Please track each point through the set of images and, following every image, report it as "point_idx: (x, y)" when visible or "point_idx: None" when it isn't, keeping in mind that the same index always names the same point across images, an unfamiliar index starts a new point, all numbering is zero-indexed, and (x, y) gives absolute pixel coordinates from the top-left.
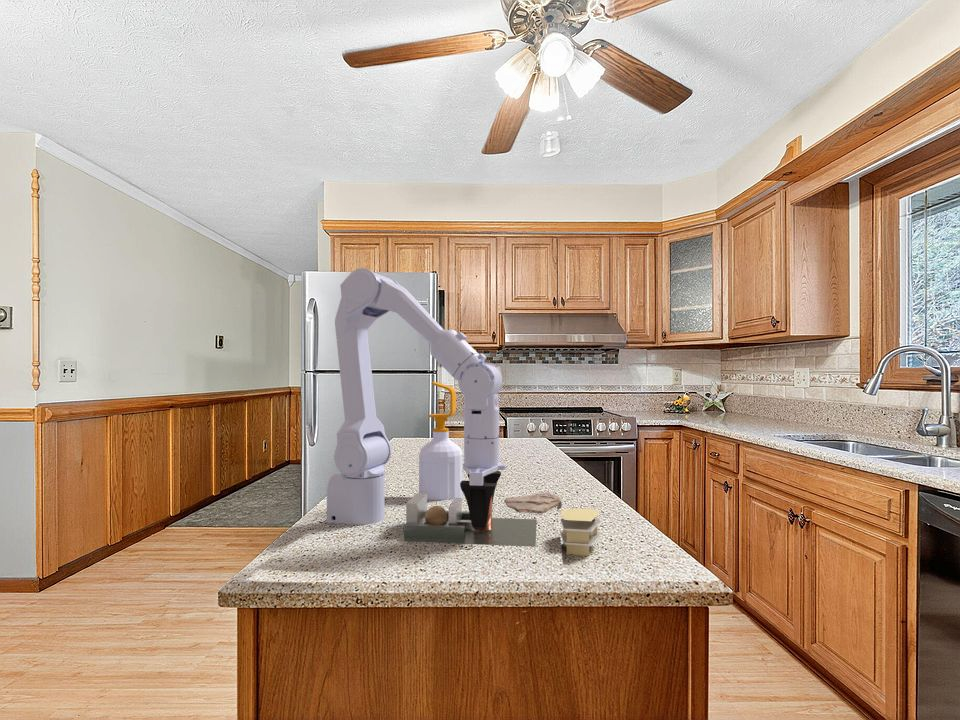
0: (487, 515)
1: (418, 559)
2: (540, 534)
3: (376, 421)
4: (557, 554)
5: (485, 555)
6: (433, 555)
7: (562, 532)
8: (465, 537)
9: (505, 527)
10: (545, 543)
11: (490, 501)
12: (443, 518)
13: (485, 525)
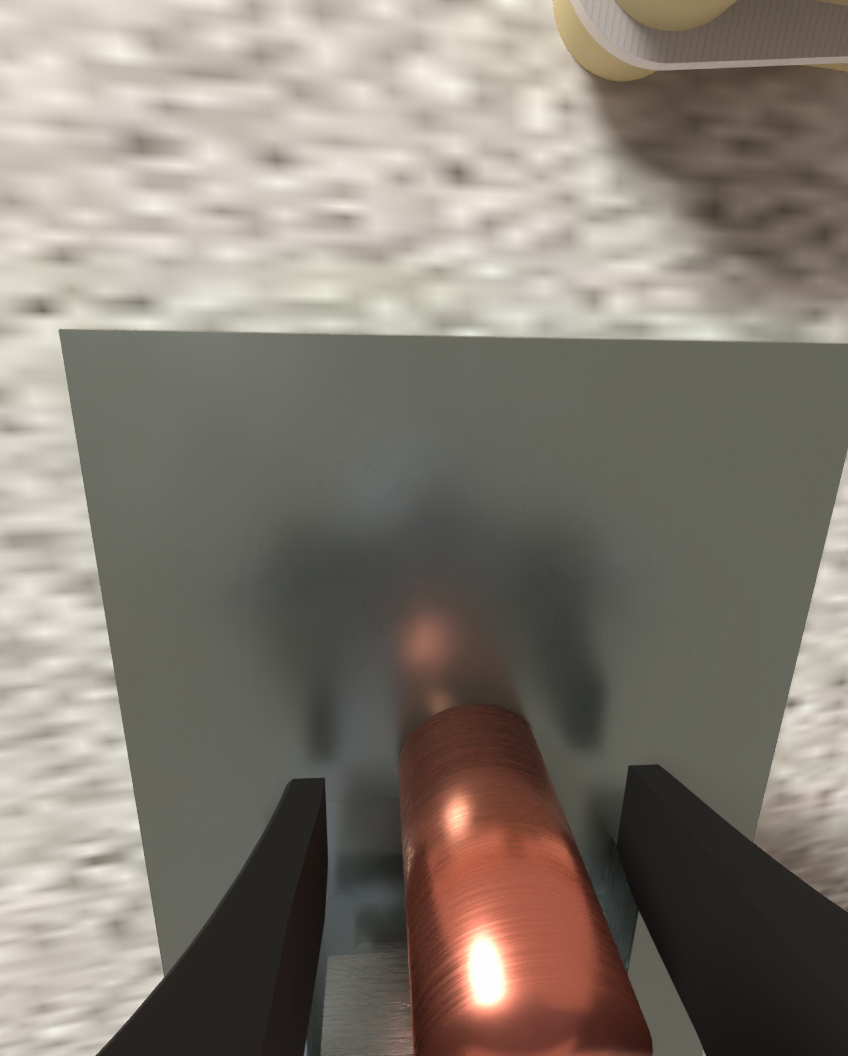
0: (732, 828)
1: None
2: (334, 295)
3: None
4: (838, 158)
5: (800, 662)
6: None
7: (645, 38)
8: None
9: (392, 607)
10: (575, 254)
11: (781, 929)
12: None
13: (671, 775)
